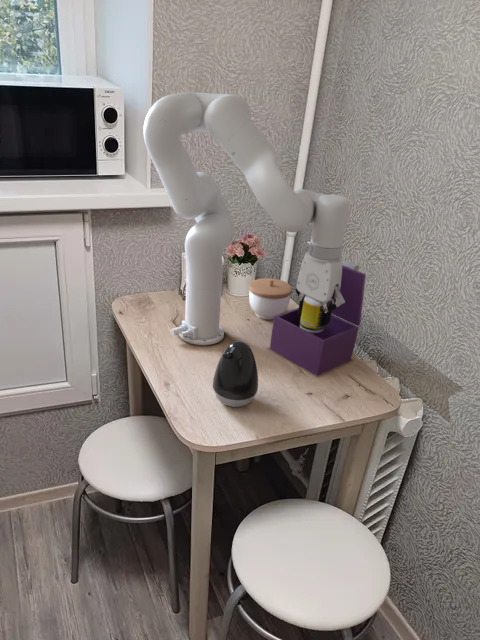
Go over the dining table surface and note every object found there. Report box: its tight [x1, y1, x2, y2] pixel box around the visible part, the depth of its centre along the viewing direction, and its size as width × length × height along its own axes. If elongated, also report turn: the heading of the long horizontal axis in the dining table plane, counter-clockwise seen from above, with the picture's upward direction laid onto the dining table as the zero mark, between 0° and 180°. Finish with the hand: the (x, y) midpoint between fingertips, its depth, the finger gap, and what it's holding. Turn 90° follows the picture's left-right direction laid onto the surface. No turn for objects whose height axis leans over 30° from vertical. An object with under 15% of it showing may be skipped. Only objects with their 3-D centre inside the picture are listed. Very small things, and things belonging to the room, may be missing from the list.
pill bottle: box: [300, 296, 329, 333], centre depth 131 cm, size 6×6×11 cm
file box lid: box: [328, 258, 367, 327], centre depth 134 cm, size 14×17×6 cm
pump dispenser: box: [212, 340, 259, 408], centre depth 116 cm, size 10×10×15 cm
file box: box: [269, 307, 360, 377], centre depth 137 cm, size 14×17×10 cm
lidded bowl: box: [248, 277, 293, 320], centre depth 156 cm, size 13×13×11 cm
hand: (313, 319), depth 133 cm, fingers closed on pill bottle, 6 cm apart
